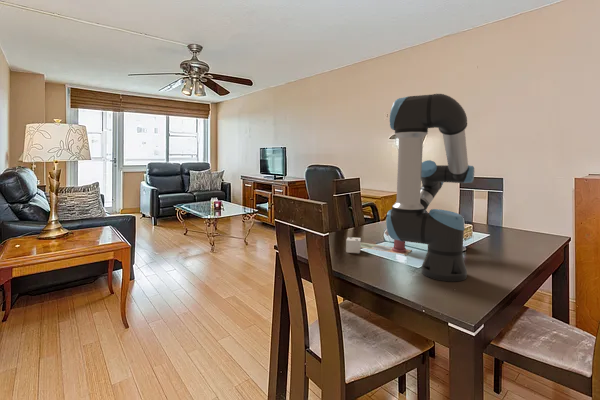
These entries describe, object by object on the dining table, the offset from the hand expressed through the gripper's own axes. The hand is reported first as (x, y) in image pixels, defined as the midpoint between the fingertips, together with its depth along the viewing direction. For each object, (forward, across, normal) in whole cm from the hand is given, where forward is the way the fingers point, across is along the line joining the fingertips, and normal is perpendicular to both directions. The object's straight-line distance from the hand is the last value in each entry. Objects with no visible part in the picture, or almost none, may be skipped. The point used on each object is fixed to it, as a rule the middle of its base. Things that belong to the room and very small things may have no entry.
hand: (397, 237), depth 148 cm
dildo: (+4, 0, -6) cm, 7 cm away
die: (+17, +10, +7) cm, 21 cm away
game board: (+6, +7, -4) cm, 10 cm away
